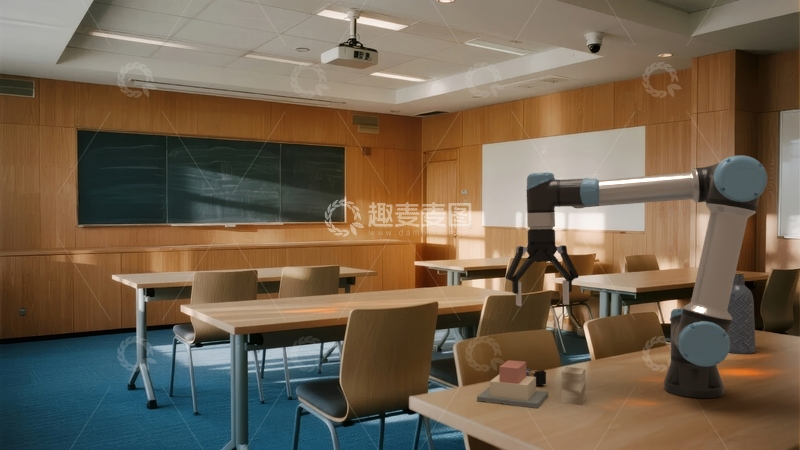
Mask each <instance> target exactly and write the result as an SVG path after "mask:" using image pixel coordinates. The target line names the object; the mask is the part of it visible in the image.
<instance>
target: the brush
mask: <svg viewBox="0 0 800 450" xmlns="http://www.w3.org/2000/svg"><path fill="white" fill-rule="evenodd" d="M504 363H505V362H503V363H502V365H503V364H504ZM526 376H531V377H536V386H537V385H538V386H542V385H546V384H547V372H546V370H545V369H540V370H537V369H535V370H534V369H533V370H532V369H530V368H527V367H526Z"/></svg>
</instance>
